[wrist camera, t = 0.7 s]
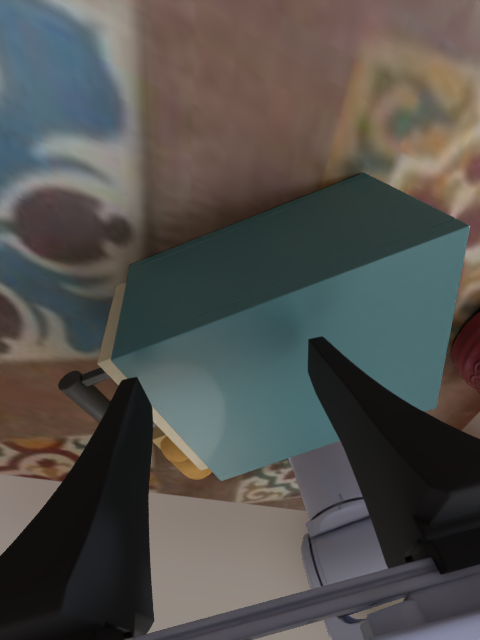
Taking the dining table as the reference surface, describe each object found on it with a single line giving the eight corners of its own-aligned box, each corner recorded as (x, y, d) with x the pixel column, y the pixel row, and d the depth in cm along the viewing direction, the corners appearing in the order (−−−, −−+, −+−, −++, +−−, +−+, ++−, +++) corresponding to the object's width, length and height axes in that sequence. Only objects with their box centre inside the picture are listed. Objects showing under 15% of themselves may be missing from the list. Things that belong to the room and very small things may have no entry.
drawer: (143, 413, 28) (137, 492, 22) (46, 312, 20) (1, 399, 14) (351, 338, 26) (396, 403, 21) (335, 200, 19) (400, 249, 13)
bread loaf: (221, 436, 34) (227, 478, 30) (185, 449, 34) (187, 491, 31) (193, 398, 29) (196, 442, 26) (152, 413, 29) (150, 459, 26)
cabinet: (208, 386, 28) (220, 481, 22) (129, 264, 20) (109, 360, 13) (371, 327, 27) (436, 408, 21) (364, 172, 19) (471, 225, 12)
